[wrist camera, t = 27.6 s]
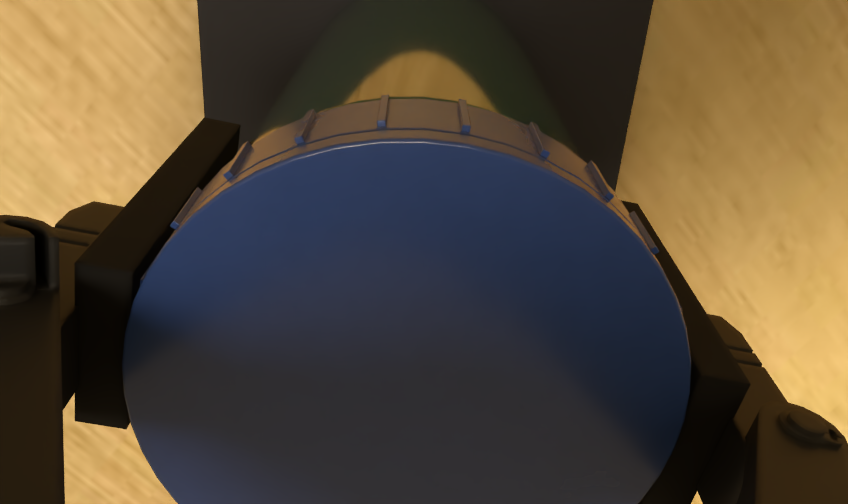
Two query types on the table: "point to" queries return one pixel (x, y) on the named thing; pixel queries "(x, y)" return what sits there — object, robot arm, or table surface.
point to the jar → (418, 64)
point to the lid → (406, 322)
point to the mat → (516, 3)
